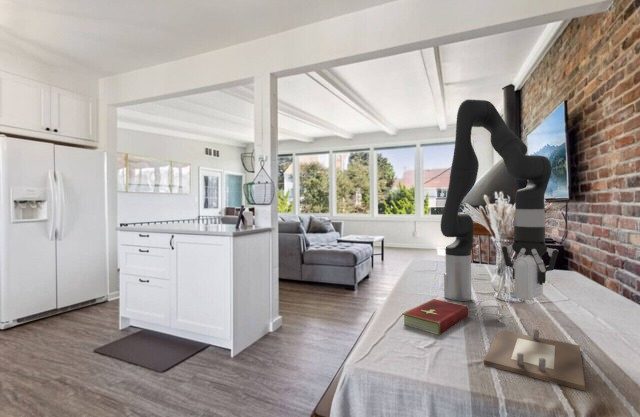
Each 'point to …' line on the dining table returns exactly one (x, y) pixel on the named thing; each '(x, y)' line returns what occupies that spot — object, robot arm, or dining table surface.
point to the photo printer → (527, 278)
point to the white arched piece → (489, 304)
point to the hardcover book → (436, 316)
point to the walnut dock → (537, 358)
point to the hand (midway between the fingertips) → (528, 282)
